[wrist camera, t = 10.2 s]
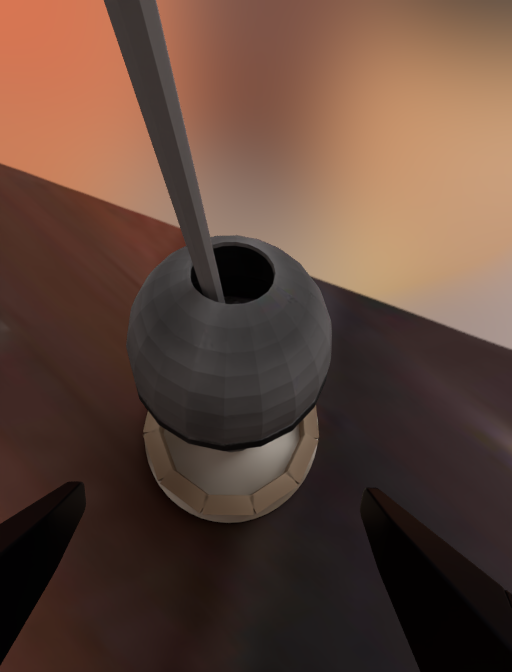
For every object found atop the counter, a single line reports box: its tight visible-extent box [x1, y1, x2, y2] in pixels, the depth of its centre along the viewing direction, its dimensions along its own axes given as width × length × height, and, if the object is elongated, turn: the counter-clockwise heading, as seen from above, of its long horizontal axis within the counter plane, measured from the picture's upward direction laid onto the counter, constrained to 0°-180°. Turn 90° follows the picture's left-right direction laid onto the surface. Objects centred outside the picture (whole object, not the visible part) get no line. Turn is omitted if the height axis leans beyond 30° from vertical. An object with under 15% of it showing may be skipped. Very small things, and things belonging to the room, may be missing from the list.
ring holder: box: [143, 405, 319, 523], centre depth 19 cm, size 13×13×2 cm
